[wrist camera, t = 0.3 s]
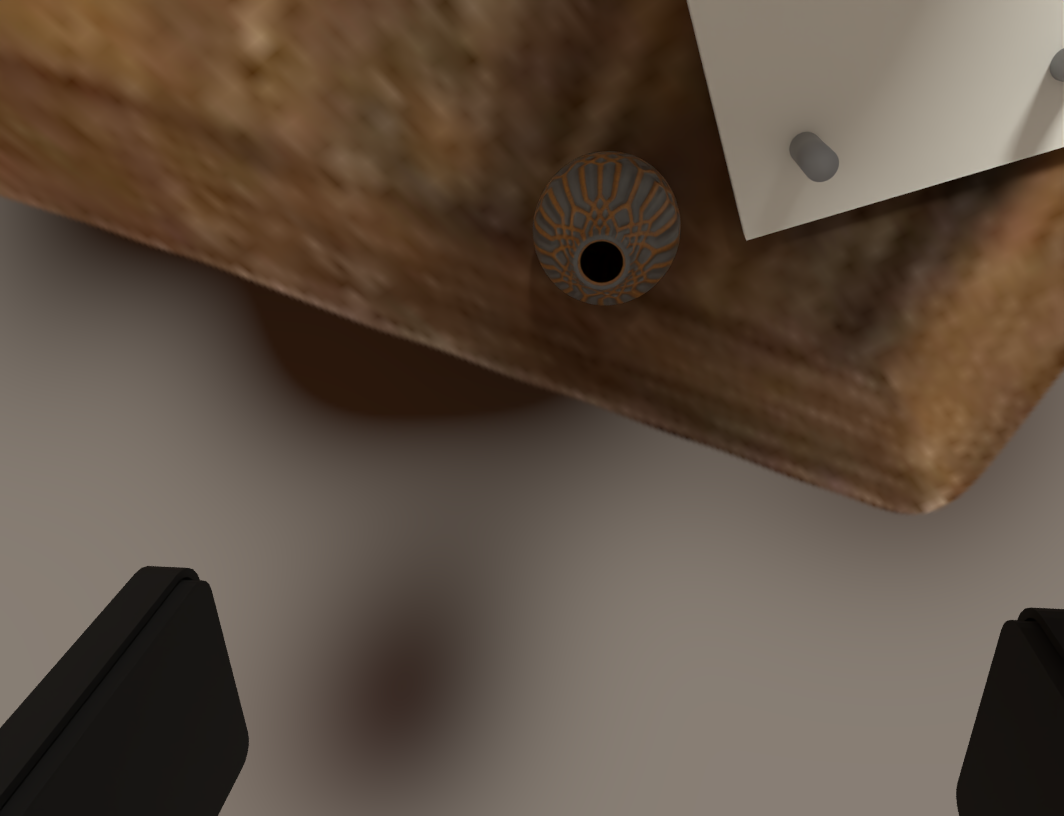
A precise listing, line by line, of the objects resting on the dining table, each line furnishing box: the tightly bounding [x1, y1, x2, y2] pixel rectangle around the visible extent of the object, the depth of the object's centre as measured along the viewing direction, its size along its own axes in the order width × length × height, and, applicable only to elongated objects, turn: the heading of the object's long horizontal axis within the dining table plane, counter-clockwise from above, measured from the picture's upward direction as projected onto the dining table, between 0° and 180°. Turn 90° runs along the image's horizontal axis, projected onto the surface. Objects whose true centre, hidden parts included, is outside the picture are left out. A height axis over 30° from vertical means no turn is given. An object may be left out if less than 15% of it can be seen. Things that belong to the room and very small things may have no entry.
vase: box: [533, 151, 681, 305], centre depth 38 cm, size 7×7×9 cm
